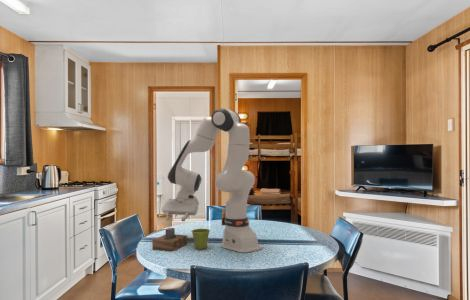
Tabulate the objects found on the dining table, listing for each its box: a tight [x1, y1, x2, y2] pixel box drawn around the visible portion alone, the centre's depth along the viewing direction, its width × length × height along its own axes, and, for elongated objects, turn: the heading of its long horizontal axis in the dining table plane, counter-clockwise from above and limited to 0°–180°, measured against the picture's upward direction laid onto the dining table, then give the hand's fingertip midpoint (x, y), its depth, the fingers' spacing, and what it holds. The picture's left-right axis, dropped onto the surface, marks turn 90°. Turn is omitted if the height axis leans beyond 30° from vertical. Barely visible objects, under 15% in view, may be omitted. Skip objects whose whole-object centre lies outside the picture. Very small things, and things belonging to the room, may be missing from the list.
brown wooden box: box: [151, 233, 188, 252], centre depth 168 cm, size 14×12×5 cm
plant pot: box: [191, 228, 211, 250], centre depth 165 cm, size 9×9×9 cm
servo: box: [164, 226, 177, 239], centre depth 168 cm, size 6×3×9 cm, turn 160°
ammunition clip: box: [221, 206, 226, 226], centre depth 222 cm, size 11×2×12 cm, turn 108°
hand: (175, 220), depth 172 cm, fingers open, 8 cm apart
